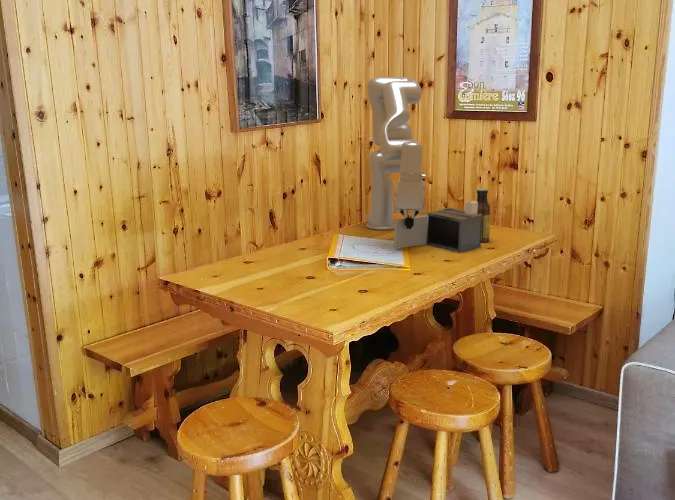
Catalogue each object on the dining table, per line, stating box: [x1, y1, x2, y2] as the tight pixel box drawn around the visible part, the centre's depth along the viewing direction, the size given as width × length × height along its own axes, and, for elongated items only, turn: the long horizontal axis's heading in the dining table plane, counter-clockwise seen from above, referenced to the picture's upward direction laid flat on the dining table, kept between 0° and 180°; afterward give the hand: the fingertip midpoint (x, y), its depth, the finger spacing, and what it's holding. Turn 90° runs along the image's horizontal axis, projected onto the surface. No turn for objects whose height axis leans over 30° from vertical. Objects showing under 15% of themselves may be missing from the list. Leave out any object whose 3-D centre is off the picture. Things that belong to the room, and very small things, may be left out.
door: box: [393, 214, 428, 249], centre depth 260 cm, size 15×2×11 cm, turn 123°
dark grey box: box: [426, 207, 483, 254], centre depth 263 cm, size 16×12×12 cm
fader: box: [464, 199, 478, 215], centre depth 259 cm, size 3×4×5 cm
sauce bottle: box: [476, 188, 491, 243], centre depth 269 cm, size 7×6×20 cm
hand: (409, 228), depth 255 cm, fingers closed
